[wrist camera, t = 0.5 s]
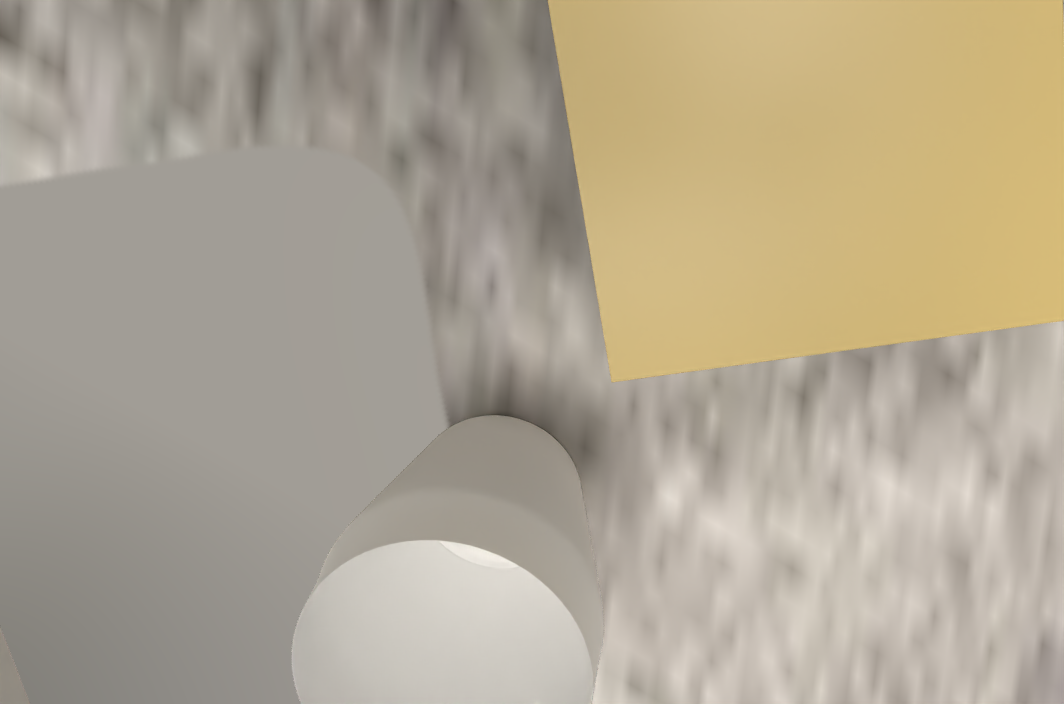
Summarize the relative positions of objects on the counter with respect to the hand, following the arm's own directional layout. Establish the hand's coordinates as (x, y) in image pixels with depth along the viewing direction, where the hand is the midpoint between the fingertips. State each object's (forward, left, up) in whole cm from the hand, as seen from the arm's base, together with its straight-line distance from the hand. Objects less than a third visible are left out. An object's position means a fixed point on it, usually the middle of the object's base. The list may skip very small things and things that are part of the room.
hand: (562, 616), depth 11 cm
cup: (+10, -6, -26) cm, 29 cm away
